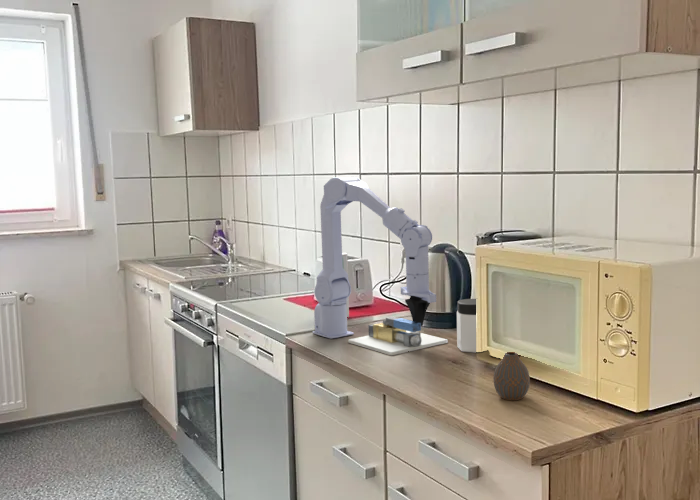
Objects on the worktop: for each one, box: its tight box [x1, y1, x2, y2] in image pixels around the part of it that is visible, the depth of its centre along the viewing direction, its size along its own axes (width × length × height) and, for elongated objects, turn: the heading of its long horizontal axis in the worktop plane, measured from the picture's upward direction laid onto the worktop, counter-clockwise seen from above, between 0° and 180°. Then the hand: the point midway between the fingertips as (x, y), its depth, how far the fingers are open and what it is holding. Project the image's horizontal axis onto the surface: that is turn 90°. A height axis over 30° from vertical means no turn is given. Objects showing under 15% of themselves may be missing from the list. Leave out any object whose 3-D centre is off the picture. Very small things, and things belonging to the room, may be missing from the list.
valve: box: [367, 322, 422, 347], centre depth 181 cm, size 18×5×4 cm, turn 36°
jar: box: [456, 298, 477, 354], centre depth 173 cm, size 9×8×12 cm
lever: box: [382, 316, 422, 332], centre depth 179 cm, size 13×3×2 cm, turn 36°
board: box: [347, 331, 449, 356], centre depth 182 cm, size 18×19×1 cm
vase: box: [493, 352, 531, 401], centre depth 135 cm, size 7×7×9 cm
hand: (418, 326), depth 177 cm, fingers closed, pressing on lever
